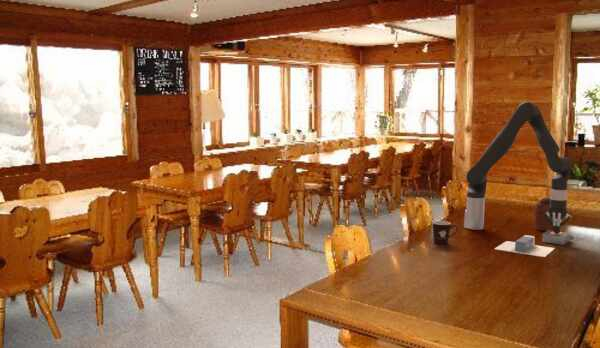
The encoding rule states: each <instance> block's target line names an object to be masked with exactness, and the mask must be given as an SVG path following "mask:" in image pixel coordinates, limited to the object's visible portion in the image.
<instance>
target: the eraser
mask: <svg viewBox="0 0 600 348" xmlns="http://www.w3.org/2000/svg"><path fill="white" fill-rule="evenodd" d="M535 239H536V237H535V236H533V235H526V234H524V235H522V237H520V238H518V239H517V240H515V241H514V242H515V251H519V252H526V251H528V250H529V249H531V248H532V247H533V246H534V245H536V244H535V242H536V240H535Z"/></svg>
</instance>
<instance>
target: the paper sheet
mask: <svg viewBox="0 0 600 348" xmlns="http://www.w3.org/2000/svg"><path fill="white" fill-rule="evenodd" d="M555 249H556V248H555V247H551V246H550V247H549V246H543V245H538V244H534V246H533V247H532V248H531V249H529V250H528V251H526V252H519V251H515V241H510V240H506V241H504V242H503V243H501V244H500V245H498V246H497V247H495V248H494V250H497V251H503V252H509V253H514V254H521V255H529V256H532V257H533V256H534V257H541V258H546V257H548V255H550V254H551V253H552V252H553V251H554V250H555Z"/></svg>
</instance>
